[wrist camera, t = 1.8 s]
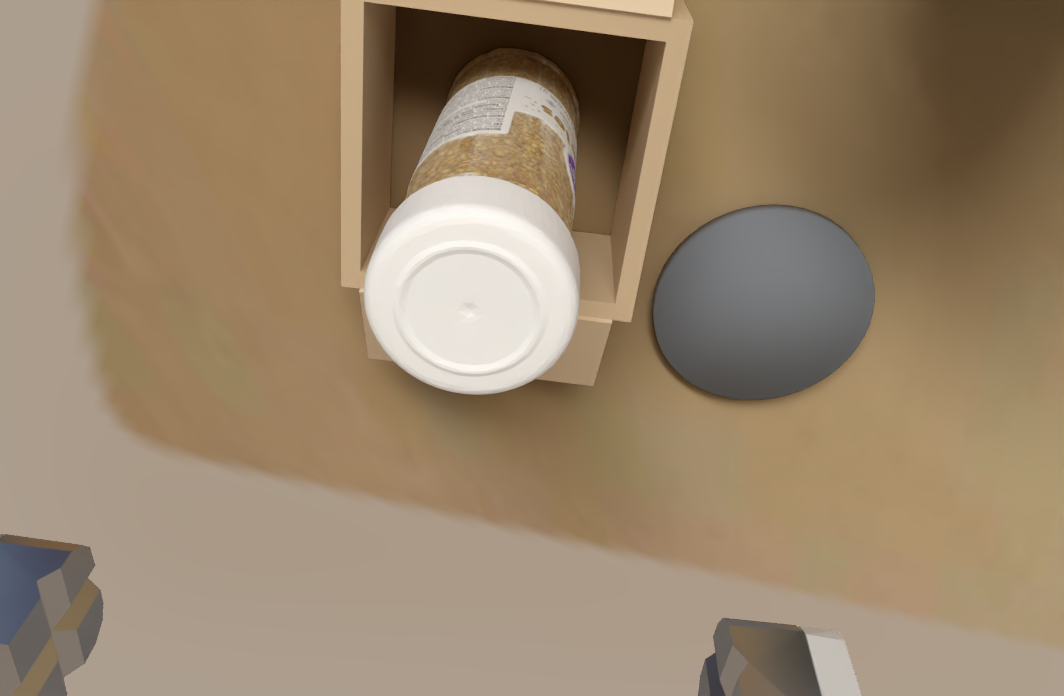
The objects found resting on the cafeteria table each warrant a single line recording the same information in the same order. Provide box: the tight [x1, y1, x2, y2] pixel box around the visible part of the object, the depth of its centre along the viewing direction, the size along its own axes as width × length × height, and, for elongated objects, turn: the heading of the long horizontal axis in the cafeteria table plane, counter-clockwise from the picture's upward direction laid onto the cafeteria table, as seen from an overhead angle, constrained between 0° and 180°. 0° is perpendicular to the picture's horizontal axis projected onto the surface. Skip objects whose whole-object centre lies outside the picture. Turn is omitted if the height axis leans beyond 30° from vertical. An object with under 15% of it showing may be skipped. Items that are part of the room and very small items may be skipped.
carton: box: [341, 0, 694, 386], centre depth 27 cm, size 9×17×5 cm, turn 173°
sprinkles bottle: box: [364, 48, 580, 395], centre depth 24 cm, size 5×5×14 cm
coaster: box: [653, 205, 875, 400], centre depth 32 cm, size 8×8×1 cm
